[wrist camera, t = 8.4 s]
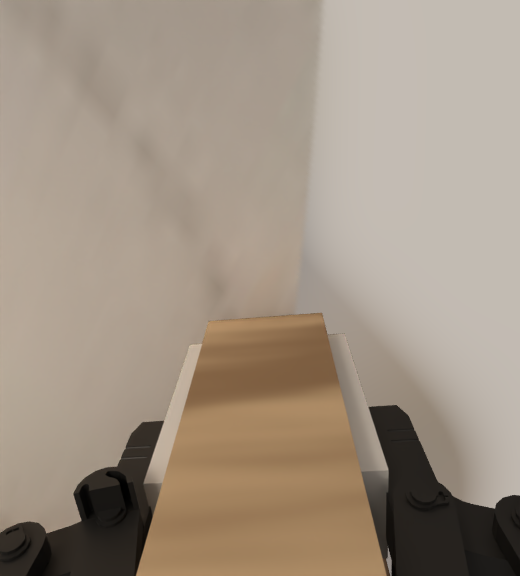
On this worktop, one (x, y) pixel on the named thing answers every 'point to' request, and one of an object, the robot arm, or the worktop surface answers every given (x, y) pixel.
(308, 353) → the crook tool
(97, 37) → the worktop surface
